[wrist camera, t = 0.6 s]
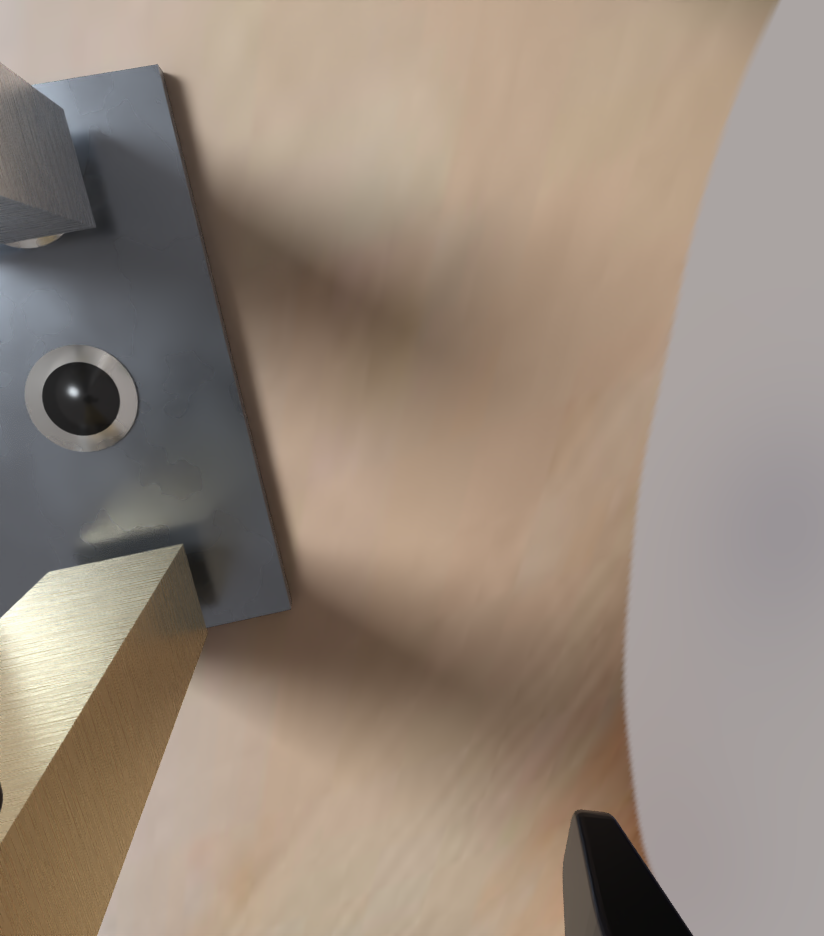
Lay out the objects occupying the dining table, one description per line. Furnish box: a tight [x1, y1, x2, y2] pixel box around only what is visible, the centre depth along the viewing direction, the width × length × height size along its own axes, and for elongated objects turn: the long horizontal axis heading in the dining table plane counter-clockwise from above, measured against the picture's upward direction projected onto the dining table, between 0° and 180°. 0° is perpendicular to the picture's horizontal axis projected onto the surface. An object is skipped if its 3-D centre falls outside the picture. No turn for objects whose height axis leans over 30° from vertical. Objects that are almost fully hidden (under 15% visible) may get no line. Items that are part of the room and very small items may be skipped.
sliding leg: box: [0, 544, 208, 936], centre depth 15 cm, size 3×4×16 cm
